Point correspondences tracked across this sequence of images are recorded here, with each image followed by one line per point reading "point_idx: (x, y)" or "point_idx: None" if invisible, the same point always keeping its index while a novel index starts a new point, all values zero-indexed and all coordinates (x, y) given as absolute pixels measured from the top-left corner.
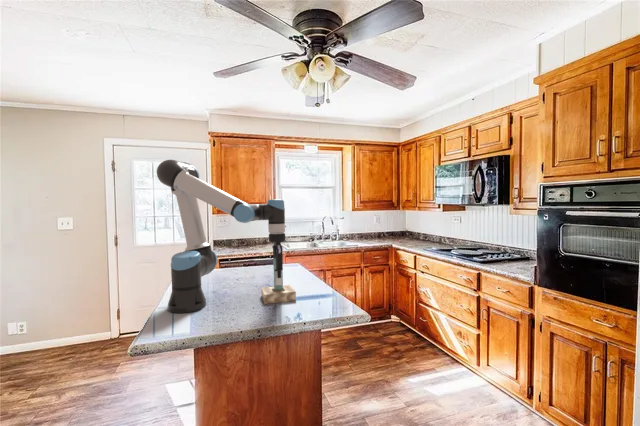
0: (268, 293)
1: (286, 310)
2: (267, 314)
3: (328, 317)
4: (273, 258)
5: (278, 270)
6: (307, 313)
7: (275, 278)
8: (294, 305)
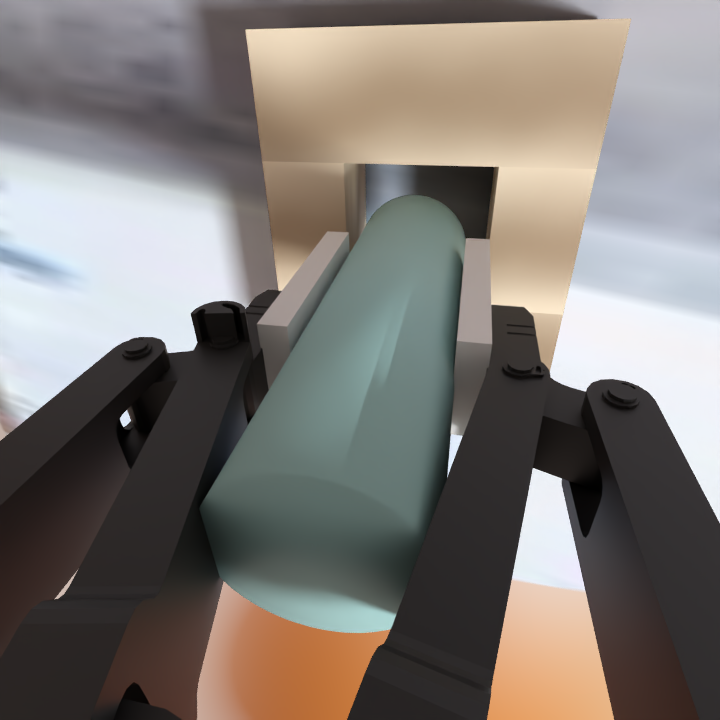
0: (290, 95)
1: (107, 207)
2: (10, 25)
3: (6, 389)
4: (648, 531)
5: (176, 359)
6: (55, 318)
7: (348, 263)
8: (211, 289)
